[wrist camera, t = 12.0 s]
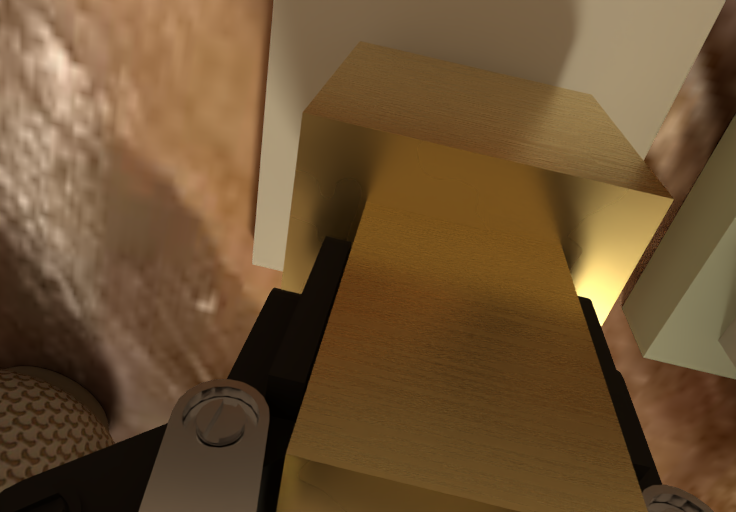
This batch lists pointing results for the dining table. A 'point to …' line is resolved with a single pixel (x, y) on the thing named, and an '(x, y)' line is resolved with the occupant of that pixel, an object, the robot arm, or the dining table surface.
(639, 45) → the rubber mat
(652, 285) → the vise
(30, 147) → the dining table surface
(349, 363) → the stepped wooden tower
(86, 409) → the planter
